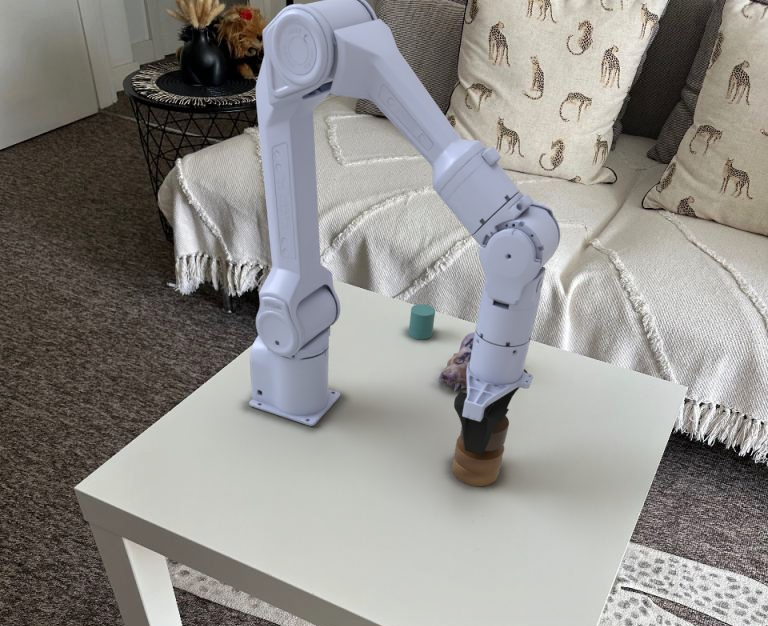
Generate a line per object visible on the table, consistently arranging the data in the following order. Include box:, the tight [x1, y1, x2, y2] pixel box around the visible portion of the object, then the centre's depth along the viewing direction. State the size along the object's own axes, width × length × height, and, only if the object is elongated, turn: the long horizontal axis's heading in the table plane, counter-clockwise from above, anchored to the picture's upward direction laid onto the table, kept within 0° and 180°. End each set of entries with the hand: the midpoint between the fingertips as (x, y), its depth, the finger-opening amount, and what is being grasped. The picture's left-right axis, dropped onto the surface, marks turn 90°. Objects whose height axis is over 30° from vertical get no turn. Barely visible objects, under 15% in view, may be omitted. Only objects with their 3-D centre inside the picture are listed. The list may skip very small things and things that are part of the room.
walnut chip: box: [459, 415, 510, 451], centre depth 81 cm, size 5×5×2 cm
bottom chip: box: [451, 456, 501, 487], centre depth 85 cm, size 6×6×2 cm
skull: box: [438, 331, 475, 392], centre depth 99 cm, size 12×8×6 cm, turn 129°
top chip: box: [453, 435, 505, 473], centre depth 83 cm, size 6×6×2 cm
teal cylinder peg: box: [408, 303, 436, 341], centre depth 107 cm, size 4×4×4 cm
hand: (481, 437), depth 82 cm, fingers closed on walnut chip, 5 cm apart
